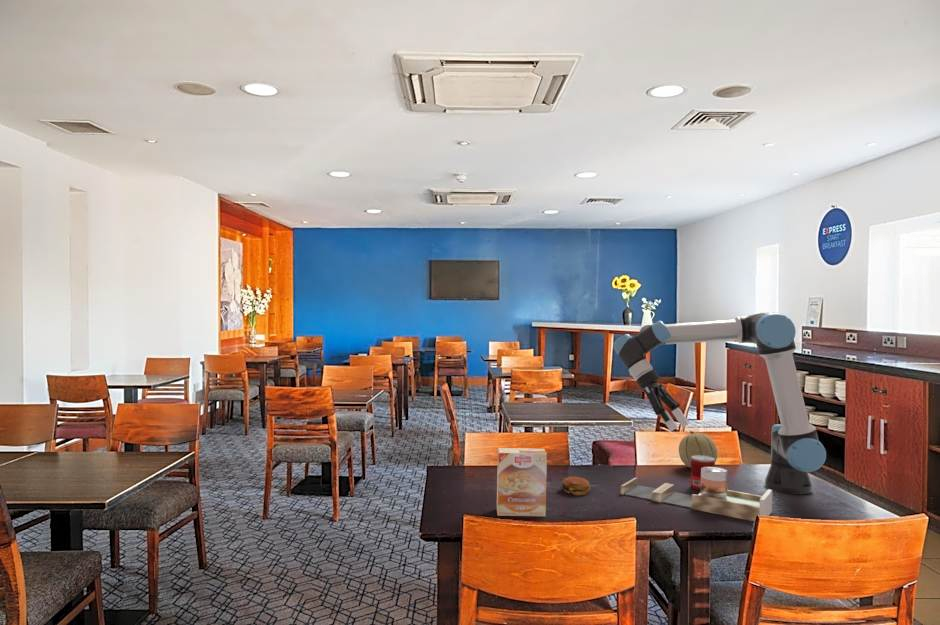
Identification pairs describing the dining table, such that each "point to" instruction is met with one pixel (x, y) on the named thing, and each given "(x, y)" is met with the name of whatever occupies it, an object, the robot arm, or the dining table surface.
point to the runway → (694, 500)
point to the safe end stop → (757, 502)
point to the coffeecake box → (521, 482)
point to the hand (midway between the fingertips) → (680, 427)
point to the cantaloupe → (696, 447)
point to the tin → (714, 482)
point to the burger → (576, 485)
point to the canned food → (699, 469)
